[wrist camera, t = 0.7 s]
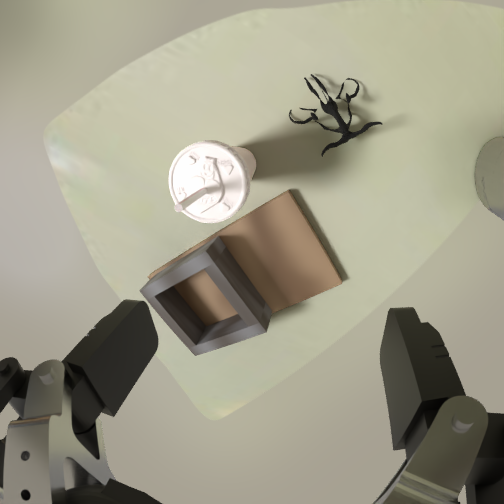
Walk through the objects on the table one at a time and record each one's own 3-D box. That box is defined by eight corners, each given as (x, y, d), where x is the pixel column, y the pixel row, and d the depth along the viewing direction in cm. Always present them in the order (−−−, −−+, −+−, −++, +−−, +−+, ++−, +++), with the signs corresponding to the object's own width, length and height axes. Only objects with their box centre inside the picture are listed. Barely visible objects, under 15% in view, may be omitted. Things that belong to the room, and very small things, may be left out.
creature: (278, 100, 26) (318, 164, 27) (262, 85, 22) (311, 161, 22) (341, 64, 23) (385, 128, 24) (338, 42, 18) (392, 117, 19)
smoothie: (205, 185, 31) (134, 232, 19) (216, 129, 28) (141, 139, 16) (261, 200, 30) (220, 259, 18) (275, 142, 27) (240, 159, 15)
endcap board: (288, 189, 29) (283, 202, 25) (341, 279, 32) (344, 303, 28) (151, 273, 38) (132, 292, 34) (202, 336, 41) (190, 359, 37)
